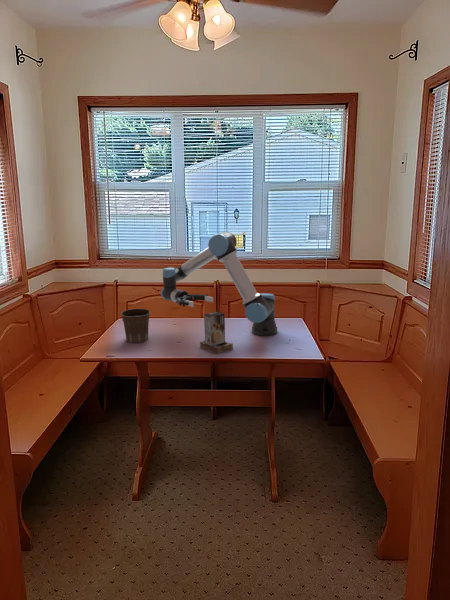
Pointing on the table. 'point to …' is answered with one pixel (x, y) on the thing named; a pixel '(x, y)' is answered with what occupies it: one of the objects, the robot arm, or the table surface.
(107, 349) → the table surface
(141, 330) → the plant pot
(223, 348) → the brown open rectangular frame
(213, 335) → the coffee box
